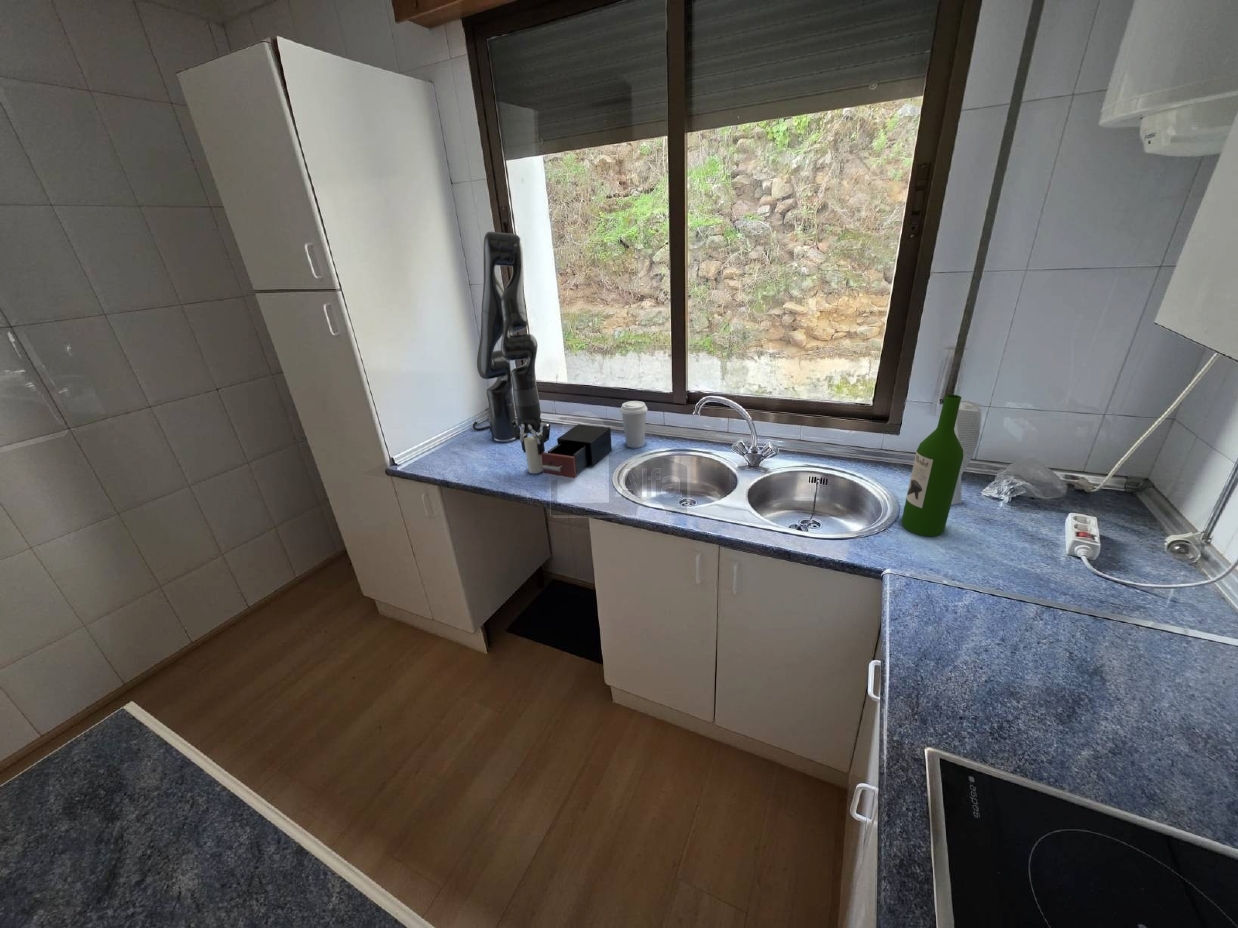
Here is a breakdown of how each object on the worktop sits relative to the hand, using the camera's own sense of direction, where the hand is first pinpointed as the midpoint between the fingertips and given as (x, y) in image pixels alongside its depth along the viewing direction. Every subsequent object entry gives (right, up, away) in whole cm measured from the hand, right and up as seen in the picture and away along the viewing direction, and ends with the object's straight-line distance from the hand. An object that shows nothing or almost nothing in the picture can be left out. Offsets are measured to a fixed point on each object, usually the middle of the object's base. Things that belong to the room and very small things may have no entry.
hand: (533, 452), depth 155 cm
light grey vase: (+113, -13, -27) cm, 117 cm away
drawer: (+10, -5, +1) cm, 12 cm away
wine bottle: (+100, -19, -38) cm, 109 cm away
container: (0, -6, +3) cm, 6 cm away
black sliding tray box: (+16, -1, +12) cm, 20 cm away
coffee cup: (+33, +3, +19) cm, 39 cm away
